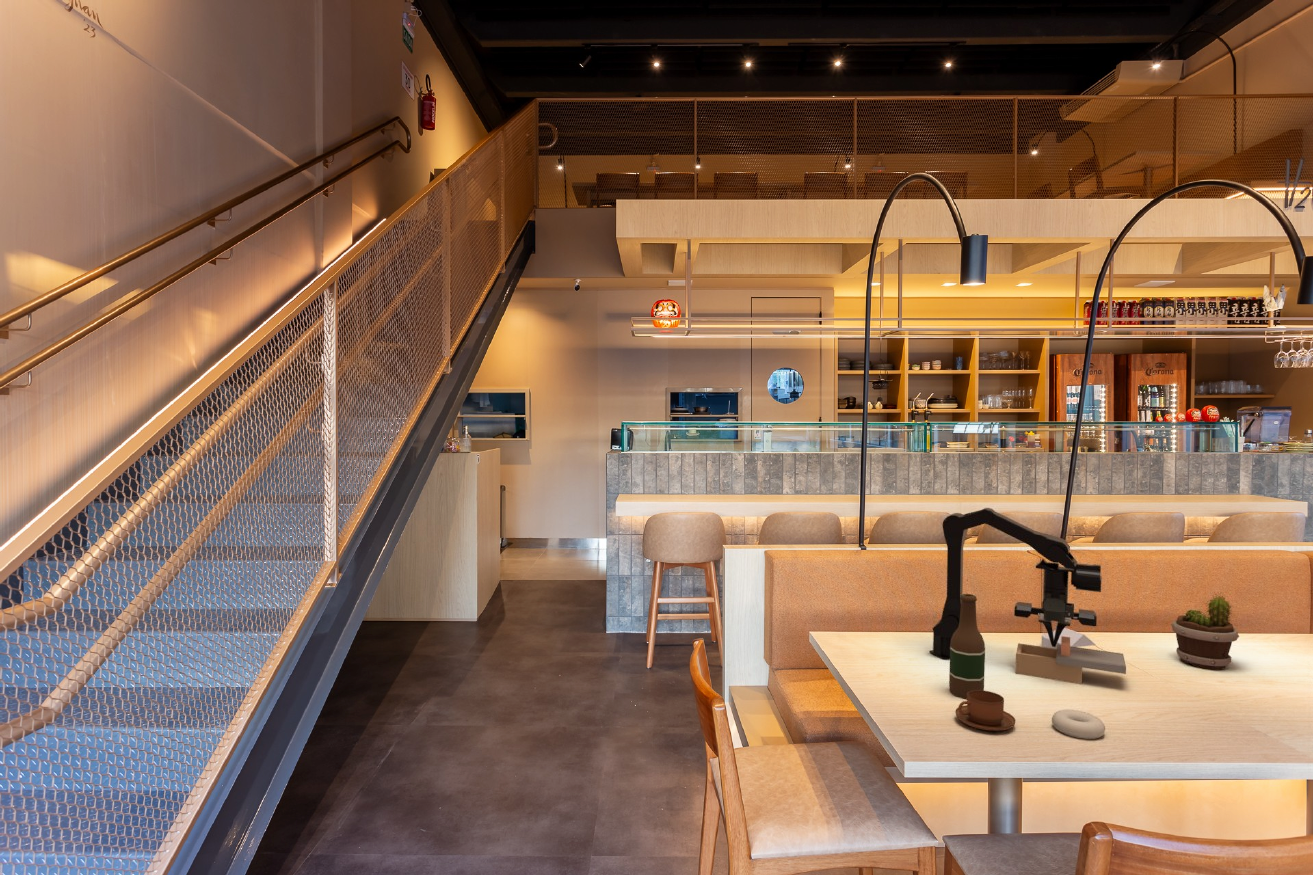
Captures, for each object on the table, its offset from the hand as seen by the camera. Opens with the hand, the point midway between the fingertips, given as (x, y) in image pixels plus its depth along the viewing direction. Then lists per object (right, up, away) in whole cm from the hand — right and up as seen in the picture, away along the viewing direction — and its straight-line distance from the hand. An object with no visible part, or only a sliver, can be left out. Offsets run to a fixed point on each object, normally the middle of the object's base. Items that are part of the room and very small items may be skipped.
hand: (1053, 646), depth 195 cm
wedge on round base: (+13, -7, +19) cm, 25 cm away
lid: (+7, -3, -4) cm, 9 cm away
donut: (-13, -9, -35) cm, 39 cm away
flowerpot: (+46, -8, +9) cm, 47 cm away
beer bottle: (-29, -8, -15) cm, 33 cm away
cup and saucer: (-32, -8, -32) cm, 46 cm away
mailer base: (-1, -7, +1) cm, 7 cm away
